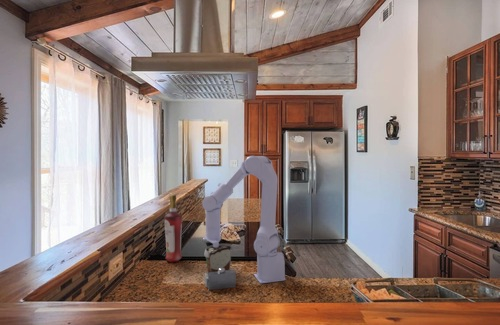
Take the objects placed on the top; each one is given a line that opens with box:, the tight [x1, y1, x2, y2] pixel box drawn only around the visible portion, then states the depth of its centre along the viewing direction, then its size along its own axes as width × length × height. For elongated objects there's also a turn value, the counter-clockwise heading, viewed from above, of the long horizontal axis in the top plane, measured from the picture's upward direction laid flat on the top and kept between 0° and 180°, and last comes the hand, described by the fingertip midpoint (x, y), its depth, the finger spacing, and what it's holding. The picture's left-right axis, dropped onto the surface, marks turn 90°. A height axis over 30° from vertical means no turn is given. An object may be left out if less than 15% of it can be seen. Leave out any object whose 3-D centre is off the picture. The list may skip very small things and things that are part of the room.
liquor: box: [164, 194, 183, 263], centre depth 124 cm, size 7×7×28 cm
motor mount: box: [203, 268, 237, 291], centre depth 100 cm, size 10×7×6 cm
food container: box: [203, 243, 233, 273], centre depth 110 cm, size 12×6×10 cm, turn 140°
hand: (213, 260), depth 115 cm, fingers closed
